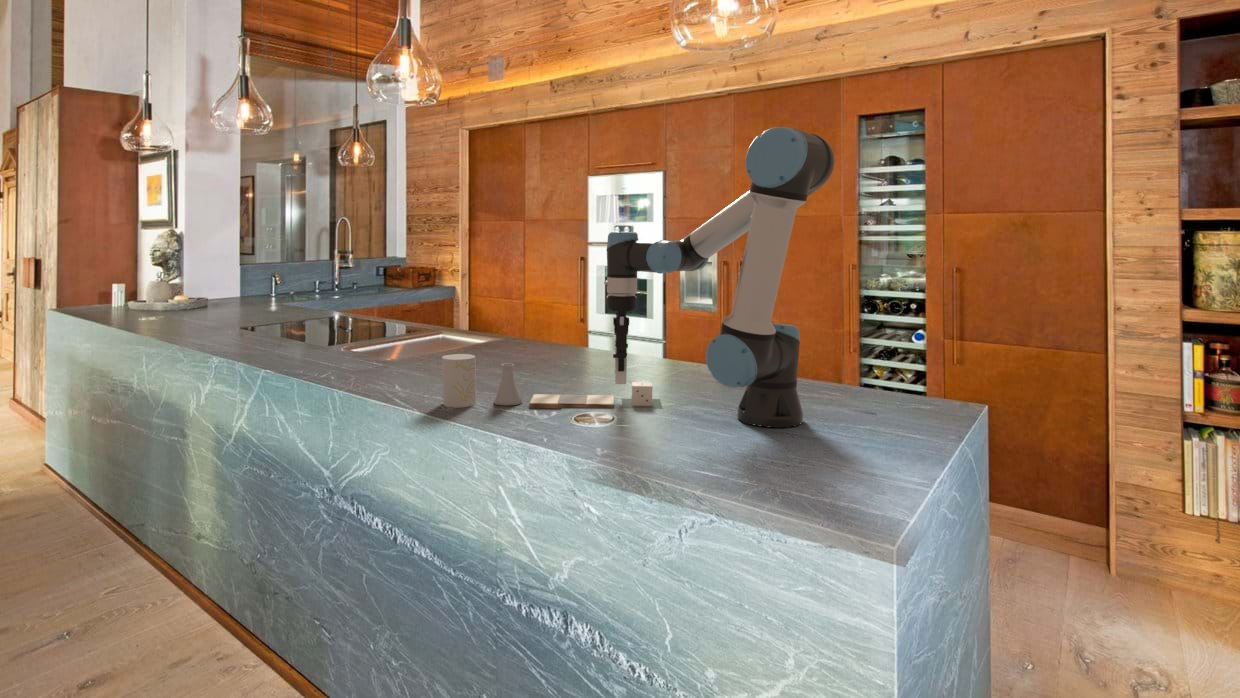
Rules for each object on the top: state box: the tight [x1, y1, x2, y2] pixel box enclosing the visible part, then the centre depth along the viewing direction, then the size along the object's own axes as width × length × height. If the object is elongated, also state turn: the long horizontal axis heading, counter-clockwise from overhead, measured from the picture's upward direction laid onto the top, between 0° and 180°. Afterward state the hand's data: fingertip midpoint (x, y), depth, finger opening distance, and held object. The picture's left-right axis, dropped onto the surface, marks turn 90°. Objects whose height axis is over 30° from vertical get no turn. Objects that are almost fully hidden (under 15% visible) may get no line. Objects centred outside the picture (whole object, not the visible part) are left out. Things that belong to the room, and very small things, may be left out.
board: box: [528, 393, 615, 409], centre depth 177 cm, size 21×10×1 cm, turn 91°
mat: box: [621, 398, 663, 409], centre depth 177 cm, size 10×10×1 cm
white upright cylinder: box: [441, 353, 477, 409], centre depth 175 cm, size 8×8×12 cm
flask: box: [493, 362, 523, 407], centre depth 176 cm, size 7×7×10 cm
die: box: [630, 381, 653, 406], centre depth 177 cm, size 5×5×5 cm
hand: (620, 378), depth 176 cm, fingers open, 13 cm apart
